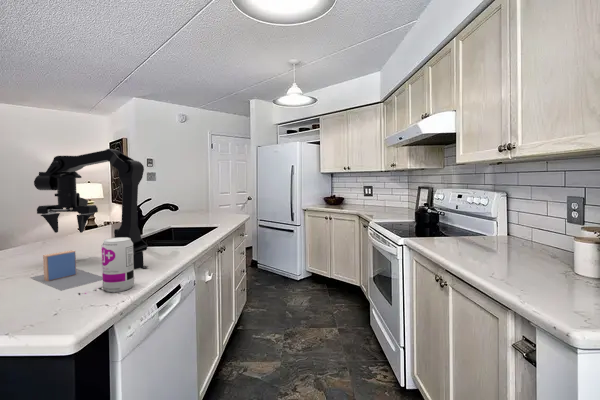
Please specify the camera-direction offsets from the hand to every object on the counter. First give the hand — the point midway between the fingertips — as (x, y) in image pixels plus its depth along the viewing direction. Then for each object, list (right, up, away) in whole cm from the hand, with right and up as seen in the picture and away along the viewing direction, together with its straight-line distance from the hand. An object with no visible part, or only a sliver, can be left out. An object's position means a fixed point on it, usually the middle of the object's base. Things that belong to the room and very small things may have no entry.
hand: (68, 232), depth 117 cm
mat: (+11, -14, -15) cm, 23 cm away
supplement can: (+31, -15, -21) cm, 40 cm away
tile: (+8, -13, -14) cm, 21 cm away
